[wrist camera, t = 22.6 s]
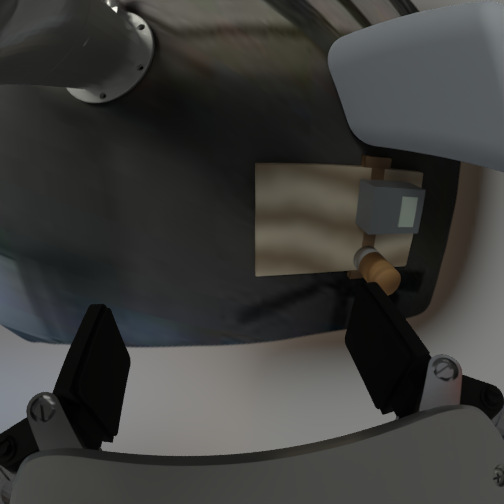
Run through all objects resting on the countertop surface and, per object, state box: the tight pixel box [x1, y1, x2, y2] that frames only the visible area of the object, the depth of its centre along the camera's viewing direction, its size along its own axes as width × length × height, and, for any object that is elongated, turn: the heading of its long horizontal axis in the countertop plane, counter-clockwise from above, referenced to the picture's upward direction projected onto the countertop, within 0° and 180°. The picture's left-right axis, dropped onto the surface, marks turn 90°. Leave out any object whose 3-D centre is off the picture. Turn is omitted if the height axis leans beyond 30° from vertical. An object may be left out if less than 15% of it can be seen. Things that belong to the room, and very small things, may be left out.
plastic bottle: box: [328, 1, 504, 172], centre depth 17 cm, size 15×15×28 cm
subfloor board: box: [255, 155, 423, 279], centre depth 37 cm, size 18×24×1 cm
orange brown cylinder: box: [353, 246, 401, 296], centre depth 36 cm, size 4×4×7 cm
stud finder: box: [355, 179, 426, 235], centre depth 34 cm, size 6×8×4 cm
